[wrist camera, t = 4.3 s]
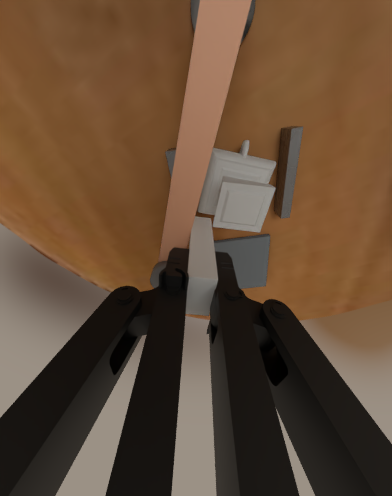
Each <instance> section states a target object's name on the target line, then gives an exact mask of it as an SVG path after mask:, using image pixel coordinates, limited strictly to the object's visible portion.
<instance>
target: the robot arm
mask: <svg viewBox="0 0 392 496" xmlns="http://www.w3.org/2000/svg"><path fill="white" fill-rule="evenodd" d="M209 313H210V322H209V325H208V329H207V334H209V340H210V362H211V383H212V405H213V427H214V446H215V447H214V448H215V470H216V491H217V496H299V493H298V489H297V485H296V482H295V478H294V474H293V470H292V467H291V463H290V459H289V456H288V452H287V448H286V444H285V441H284V438H283V433H282V430H281V426H280V422H279V419H278V415H277V411H278V413H279V415H280V418H281V420H282V422H283V424H284V426H285V429H286V431H287V433H288V436H289V438H290V440H291V442H292V445H293V447H294V449H295V451H296V453H297V456H298V458H299V460H300V462H301V464H302V467H303V469H304V471H305V473H306V476H307V478H308V480H309V482H310V485H311V487H312V489H313V491H314V494H315V496H392V444H391V443H390V441H389V440H388V439H387V437H386V436H385V435H384V433H383V432H382V431H381V430H380V428H379V427H378V425H377V424H376V423H375V421H374V420H373V419H372V417H371V416H370V415H369V413H368V412H367V411H366V410H365V408H364V407H363V405H362V404H361V403H360V401H359V400H358V399H357V397H356V396H355V395H354V393H353V392H352V391H351V390H350V388H349V387H348V385H347V384H346V383H345V381H344V380H343V379H342V377H341V376H340V375H339V373H338V372H337V371H336V370H335V368H334V367H333V366H332V364H331V363H330V362H329V360H328V359H327V358H326V356H325V355H324V354H323V352H322V351H321V350H320V348H319V347H318V346H317V344H316V343H315V342H314V340H313V339H312V338H311V336H310V335H309V334H308V332H307V331H306V330H305V328H304V327H303V326H302V324H301V323H300V322H299V320H298V319H297V318H296V316H295V315H294V314H293V312H292V311H291V310H290V309H289V308H288V307H287V306H286V305H285V304H284V303H282V302H280V301H278V300H273V299H269V300H266V301H265V302H264V303H263V304H262V303H259V302H256V301H254V300H251V299H249V298H247V297H246V296H245V294H244V292H243V291H242V290H241V289H240V288H239V287H238V283H237V278H236V274H235V270H234V266H233V262H232V258H231V257H230V255H229V254H228V253H226V252H217V251H215V248H214V240H213V232H212V223H211V218H205V217H196V216H195V219H194V222H193V226H192V229H191V234H190V242H189V249H185V248H176V247H174V248H173V249H172V250H171V251H170V252H169V256H168V260H167V264H166V268H164V269H163V270H161V272H160V273H159V286H158V287H156V288H154V289H152V290H148V291H143V292H139V290H138V289H137V288H135V287H132V286H123V287H120V288H117V289H115V290H114V291H113V292H112V293H110V295H109V296H108V297H107V298H106V299H105V300H104V301H103V302H102V304H101V305H100V306H99V307H98V309H96V310H95V311H94V313H93V314H92V315H91V316H90V317H89V318H88V319H87V321H86V322H85V323H84V324H83V325H82V326H81V327H80V329H79V330H78V331H77V332H76V333H75V334H74V335H73V336H72V338H71V339H70V340H69V341H68V342H67V343H66V344H65V345H64V347H63V348H62V349H61V350H60V351H59V352H58V353H57V354H56V356H55V357H54V358H53V359H52V360H51V361H50V362H49V364H48V365H47V366H46V367H45V368H44V369H43V370H42V372H41V373H40V374H39V375H38V376H37V377H36V378H35V380H33V382H32V383H31V384H30V385H29V386H28V387H27V388H26V390H25V391H24V392H23V393H22V394H21V395H20V396H19V397H18V399H17V400H16V401H15V402H14V403H13V404H12V405H11V406H10V408H9V409H8V410H7V411H6V412H5V413H4V414H3V415H2V417H1V418H0V496H55V495H56V493H57V491H58V490H59V488H60V486H61V484H62V482H63V480H64V478H65V477H66V475H67V473H68V471H69V469H70V467H71V466H72V464H73V462H74V460H75V458H76V456H77V454H78V453H79V451H80V449H81V447H82V445H83V444H84V442H85V440H86V438H87V436H88V434H89V432H90V431H91V429H92V427H93V425H94V423H95V421H96V420H97V418H98V416H99V414H100V412H101V410H102V409H103V407H104V405H105V403H106V401H107V399H108V398H109V396H110V394H111V392H112V390H113V388H114V386H115V384H116V383H117V381H118V379H119V377H120V375H121V374H122V372H123V370H124V368H125V366H126V364H127V363H128V361H129V359H130V357H131V355H132V353H133V352H134V350H135V348H136V346H137V344H138V342H139V340H140V339H141V337H142V335H147V336H146V339H145V343H144V347H143V351H142V355H141V359H140V363H139V367H138V371H137V375H136V379H135V383H134V386H133V390H132V394H131V398H130V402H129V406H128V410H127V414H126V418H125V421H124V426H123V429H122V433H121V437H120V441H119V445H118V449H117V453H116V457H115V460H114V464H113V468H112V472H111V476H110V480H109V484H108V488H107V492H106V496H171V491H172V478H173V465H174V453H175V441H176V440H175V439H176V428H177V414H178V402H179V390H180V377H181V364H182V351H183V339H184V326H185V314H194V315H205V316H209ZM276 409H277V411H276Z"/></svg>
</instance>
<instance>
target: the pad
mask: <svg viewBox="0 0 392 496" xmlns="http://www.w3.org/2000/svg"><path fill="white" fill-rule="evenodd" d="M269 244H270V235H269V234H264V235H257V236H249V237H241V238H234V239H226V240H218V241H214V248H215V251H217V252H226V253H228V254H229V255H230V257H231V258H232V262H233V266H234V270H235V274H236V278H237V283H238V287H239V288H240V289H242V288H252V287H262V286H266V278H267V267H268V256H269Z"/></svg>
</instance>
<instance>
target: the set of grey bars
mask: <svg viewBox="0 0 392 496" xmlns="http://www.w3.org/2000/svg"><path fill="white" fill-rule="evenodd" d="M199 4H200V0H191V19H192V26H193V30H194V33H195V29H196V23H197V17H198V10H199ZM254 9H255V0H252V1H251V5H250V9H249V13H248V16H247V20H246V24H245V28H244V32H243V35H242V39H241V43H242V41H243V40H244V38H245V36H246V34H247V32H248V30H249V28H250V25H251V22H252V19H253V15H254ZM241 43H240V44H241ZM302 131H303V127H298V126H291V127H285V128H281V139H280V150H279V160H278V171H277V182H276V193H275V204H274V211H275V212H276V213H277V215H278V216H279V217H280V218H288V217H290V212H291V205H292V198H293V191H294V185H295V178H296V171H297V165H298V158H299V151H300V145H301V138H302ZM165 153H166V157H167V161H168V166H169V170H170V174H171V179H172V173H173V167H174V161H175V154H176V148H171V149H168V150H167V151H166V152H165Z"/></svg>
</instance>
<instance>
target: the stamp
mask: <svg viewBox="0 0 392 496" xmlns="http://www.w3.org/2000/svg"><path fill="white" fill-rule="evenodd" d="M248 150H249V140H244V141H243V143H242V146H241V150H240V153H235V152H231V151H226V150H222V149H217V148H213V150H212V154H211V158H210V161H209V165H208V169H207V173H206V177H205V180H204V184H203V188H202V193H201V197H200V202H199V207H198V212H200V213H205V214H210V215H215V217H214V222H213V227H219V228H227V229H235V230H243V231H252V232H260V230H261V228H262V225H263V222H264V219H265V217H266V214H267V211H268V208H269V206H270V203H271V200H272V197H273V195H274V192H275V189H276V188H275V187H274V186H272V185H270V184H268V183H269V181H270V178H271V176H272V173H273V171H274V169H275V166H276V162H275V161H272V160H267V159H263V158H258V157H254V156H249V155H247V153H248Z"/></svg>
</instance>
